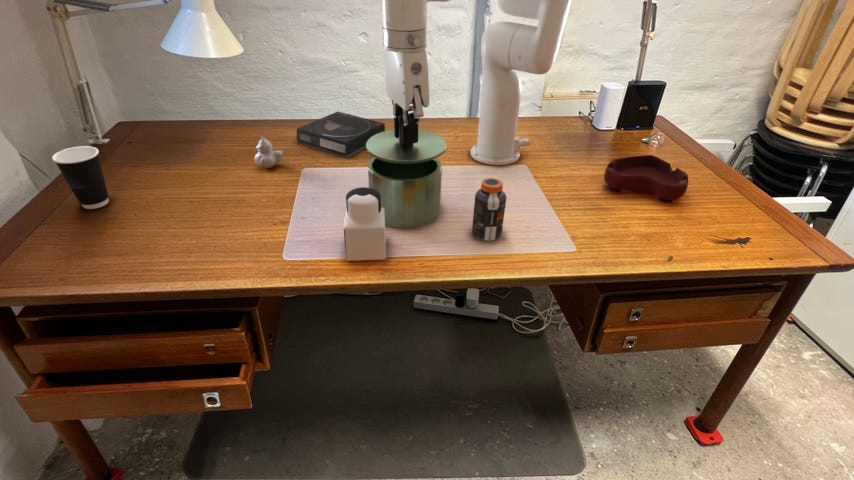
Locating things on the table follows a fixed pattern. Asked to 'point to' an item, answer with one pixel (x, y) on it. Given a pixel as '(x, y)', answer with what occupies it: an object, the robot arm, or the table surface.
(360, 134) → the portable cd player
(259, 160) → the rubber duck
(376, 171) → the tin
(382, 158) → the lid
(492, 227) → the pill bottle
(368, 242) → the medicine bottle
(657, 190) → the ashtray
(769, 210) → the table surface
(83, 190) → the dixie cup
